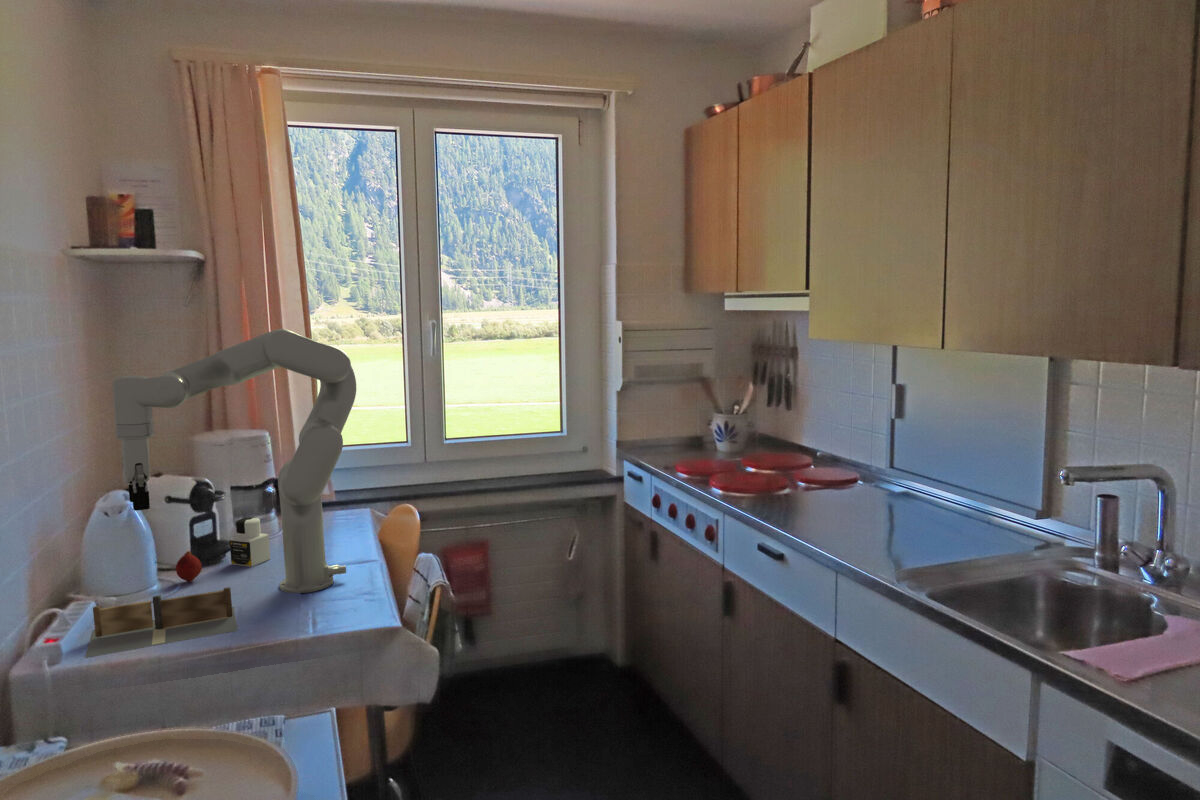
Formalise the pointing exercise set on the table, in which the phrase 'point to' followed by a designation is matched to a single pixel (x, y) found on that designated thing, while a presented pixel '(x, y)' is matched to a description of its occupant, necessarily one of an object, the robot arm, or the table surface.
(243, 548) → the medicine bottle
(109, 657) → the table surface
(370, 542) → the table surface
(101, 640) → the card
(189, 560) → the onion
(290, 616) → the table surface
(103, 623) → the fence gate
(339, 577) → the table surface
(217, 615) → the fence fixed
